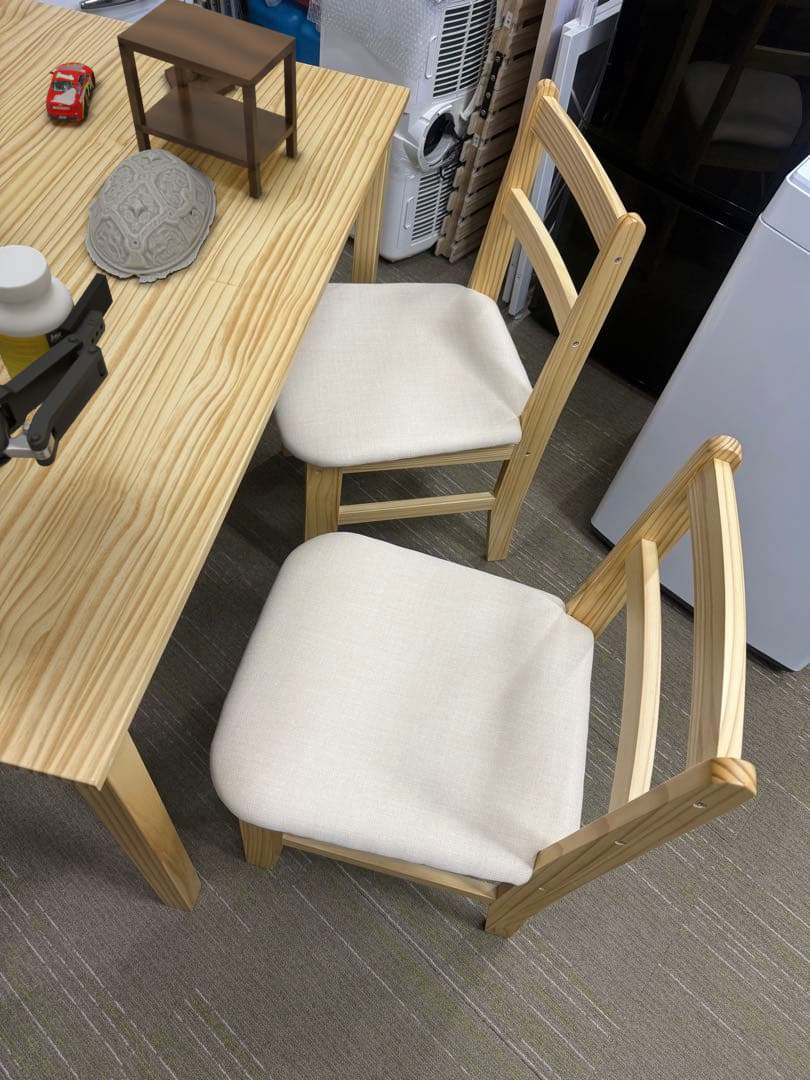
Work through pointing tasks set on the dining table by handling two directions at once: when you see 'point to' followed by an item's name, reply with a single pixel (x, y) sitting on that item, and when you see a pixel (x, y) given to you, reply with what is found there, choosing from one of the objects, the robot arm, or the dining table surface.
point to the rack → (203, 114)
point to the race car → (70, 92)
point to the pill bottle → (29, 307)
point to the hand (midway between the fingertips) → (62, 277)
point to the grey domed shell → (150, 216)
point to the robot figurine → (200, 77)
